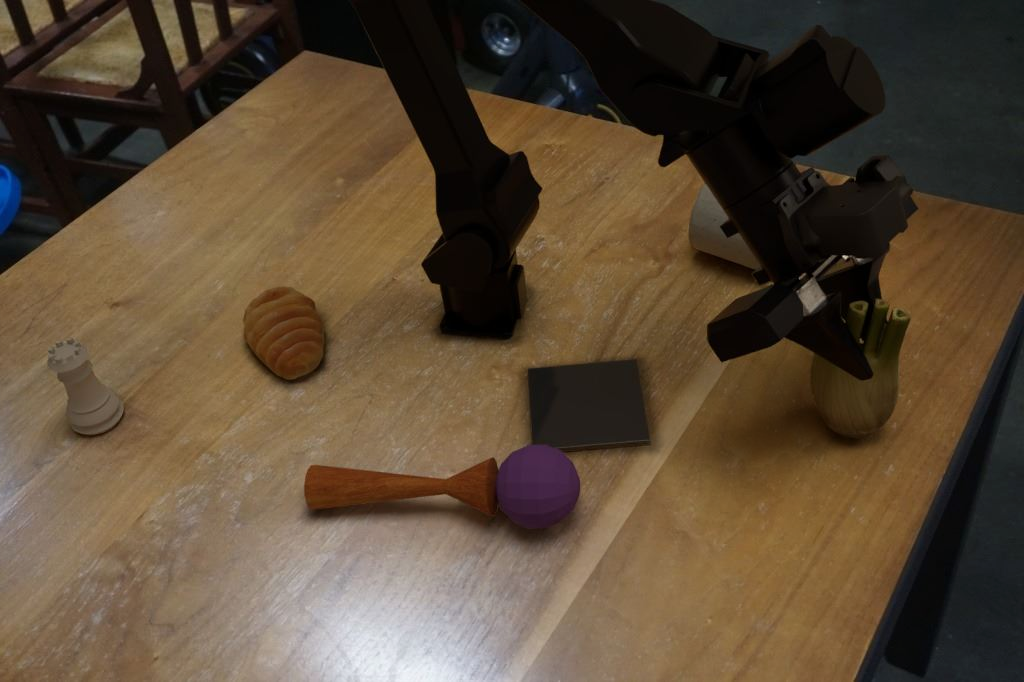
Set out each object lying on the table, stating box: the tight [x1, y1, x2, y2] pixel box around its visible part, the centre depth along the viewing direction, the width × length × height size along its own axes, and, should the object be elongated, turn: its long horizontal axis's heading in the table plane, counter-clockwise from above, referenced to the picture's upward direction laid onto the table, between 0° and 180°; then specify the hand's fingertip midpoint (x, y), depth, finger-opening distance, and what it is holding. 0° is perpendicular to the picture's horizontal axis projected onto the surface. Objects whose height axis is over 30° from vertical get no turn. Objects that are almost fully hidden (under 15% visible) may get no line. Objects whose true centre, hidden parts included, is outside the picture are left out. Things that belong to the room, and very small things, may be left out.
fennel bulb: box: [809, 294, 912, 439], centre depth 79 cm, size 6×5×12 cm
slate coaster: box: [527, 358, 651, 453], centre depth 87 cm, size 9×9×1 cm
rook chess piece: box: [46, 337, 125, 436], centre depth 89 cm, size 4×4×8 cm
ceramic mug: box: [687, 182, 760, 271], centre depth 98 cm, size 11×8×8 cm
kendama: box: [303, 444, 581, 530], centre depth 80 cm, size 6×6×20 cm
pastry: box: [242, 285, 326, 381], centre depth 95 cm, size 9×7×4 cm
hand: (878, 367), depth 78 cm, fingers closed on fennel bulb, 2 cm apart
